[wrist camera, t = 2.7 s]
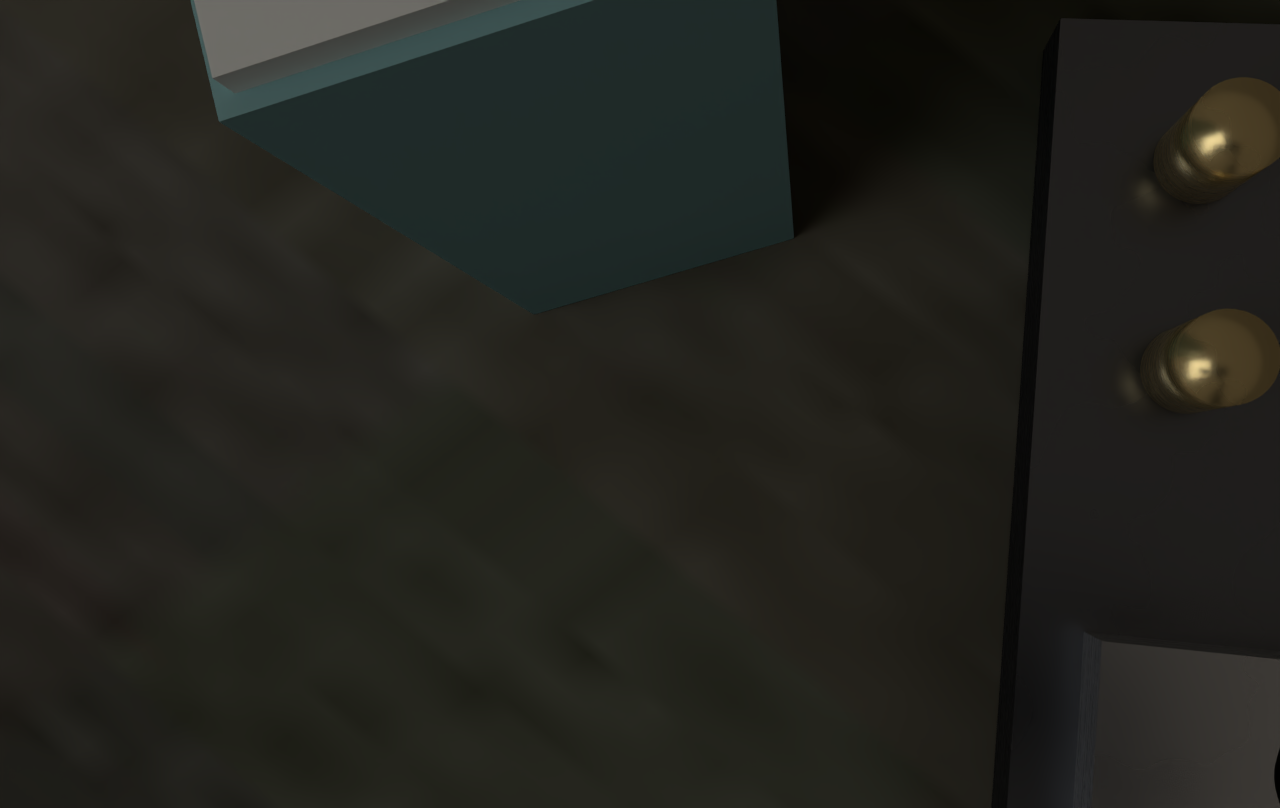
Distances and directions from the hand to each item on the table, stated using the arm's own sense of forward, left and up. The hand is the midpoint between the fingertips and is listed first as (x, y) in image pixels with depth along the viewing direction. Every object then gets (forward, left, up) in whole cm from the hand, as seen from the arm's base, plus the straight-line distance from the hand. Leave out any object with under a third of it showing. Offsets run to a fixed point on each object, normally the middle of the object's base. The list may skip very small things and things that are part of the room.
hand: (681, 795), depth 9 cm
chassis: (+1, -9, -13) cm, 15 cm away
